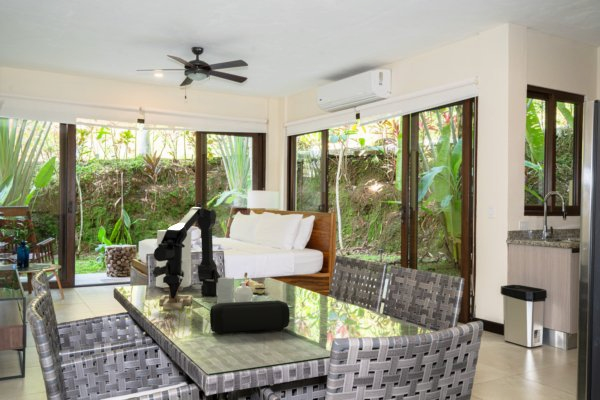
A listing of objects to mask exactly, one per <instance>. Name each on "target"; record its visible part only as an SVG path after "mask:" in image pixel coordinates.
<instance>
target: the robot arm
mask: <svg viewBox="0 0 600 400" xmlns="http://www.w3.org/2000/svg"><path fill="white" fill-rule="evenodd" d="M216 220H217V213H216V212H215V211H214V210H213V209H206V208H203V207H201V206H200V207H197V206H193V207H190V209H189V211H188V212H187V213H186V214H185V215H184V216H183V218H182V219H181V220H180V221H179V222H178V223H176V224H174V225H171V226H170V227H168V228H167V229H166V230H167V231H166V233H165V235H164V237H163V239H162V241H161V244H158V247H157V246H156V248H155V249H154V252H153V258H154V259H155V260H156V262H157V261H166V260H167V263H166V265H164V266H161V267H159V266H157V267H156V266H154V267H153V269H152V274H153V277H154V278H156V277H158V276H160V275H163V274H165V275H166V276H165V277H164V278H163V283H166V284H167V285H169V288H170V293H171V298H175V295H176V293H177V290H178V288H179V286H180V284H181V282H182V280H183V279H180V276H182V277H184V271H183V270H182V248H183V247H185V245H184V244H182V242H183V241H184V240H185V238H186V237H187V231H190V229H191V227H192V226H193V225H194V224H195V223H197V226H198V227H199V228H200V231H201V232H200V233H201V234H200V236H201V237H200V238H201V240H200V241H201V262H200V263H199V264H198V265H197V276H198V281H199V283H202V284H201V287H200V288H201V289H200V293H201V297H217V296H218V278H220V277H221V275H220V273H219V272H218V267H217V264H216V262H215V260H214V252H213V251H214V250H213V249H214V248H213V228H214V227H215V225H216V222H217V221H216Z"/></svg>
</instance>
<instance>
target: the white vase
mask: <svg viewBox="0 0 600 400" xmlns="http://www.w3.org/2000/svg"><path fill="white" fill-rule="evenodd" d="M240 284H241V286H240V285H238V286H237V287H236V288H234V293H233V296H234V302H252V299H253V296H254V293H253V292H252V290H251V289H250V287H248V286H246V282H245V281H241V282H240Z"/></svg>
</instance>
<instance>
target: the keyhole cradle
mask: <svg viewBox="0 0 600 400" xmlns="http://www.w3.org/2000/svg"><path fill="white" fill-rule="evenodd" d="M158 300H159V301H158V302H159V303H158V304H159V306H162V309H163V310H182V308H183V307H184V306H190V305H191V303H192V302H193V295H192V294H188V295H187V294H185V295H184V294H183V295H182V294H178V299H177V303H169V294H165V295H164V294H163V295H162V296H161V297H160V298H159V299H158Z"/></svg>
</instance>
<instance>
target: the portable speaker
mask: <svg viewBox="0 0 600 400" xmlns="http://www.w3.org/2000/svg"><path fill="white" fill-rule="evenodd" d="M290 315H291V314H290V309H289V305H288V303H287V302H285V301H282V300H278V299H277V300H257V301H256V300H255V301H253V300H252V301H250V302H236V301H234V302H230V303H218V304H217V303H216V304H214V305H212V306H211V307H210V312H209V324H210V325H209V326H210V331H211V332H213V333H216V334H219V335H228V334H229V335H230V334H231V333H233V334H244V333H245V334H246V333H259V332H260V333H261V332H275V331H281V330H282V329H285V328H287V327H288V326H289V323H290V319H291V317H290Z"/></svg>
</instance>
